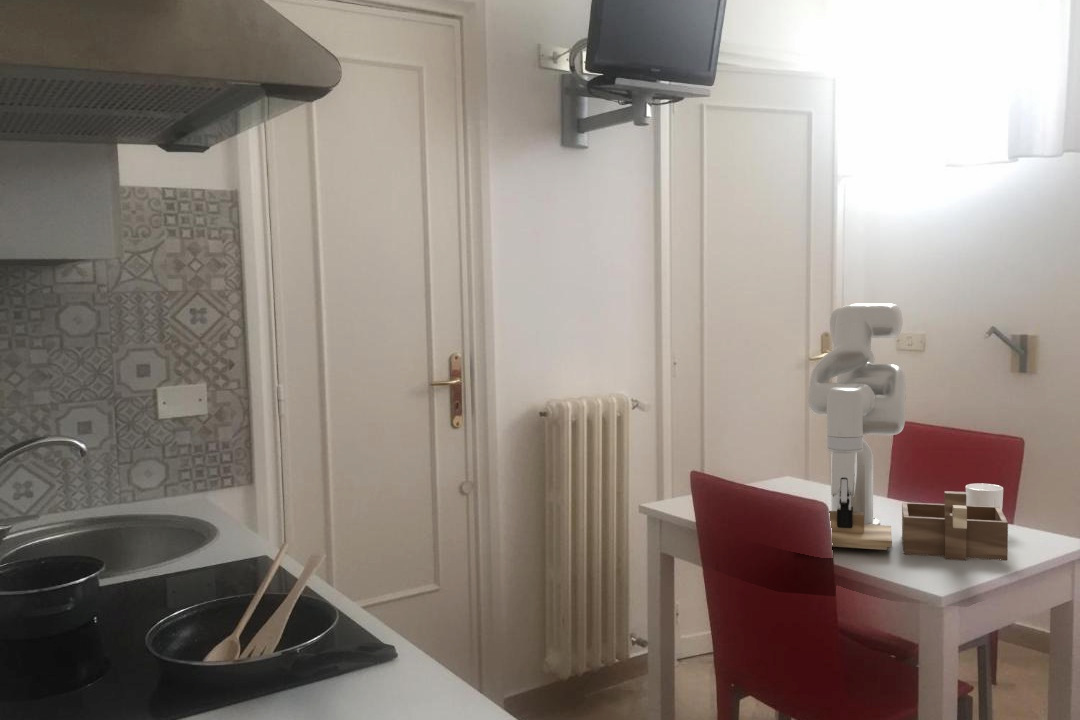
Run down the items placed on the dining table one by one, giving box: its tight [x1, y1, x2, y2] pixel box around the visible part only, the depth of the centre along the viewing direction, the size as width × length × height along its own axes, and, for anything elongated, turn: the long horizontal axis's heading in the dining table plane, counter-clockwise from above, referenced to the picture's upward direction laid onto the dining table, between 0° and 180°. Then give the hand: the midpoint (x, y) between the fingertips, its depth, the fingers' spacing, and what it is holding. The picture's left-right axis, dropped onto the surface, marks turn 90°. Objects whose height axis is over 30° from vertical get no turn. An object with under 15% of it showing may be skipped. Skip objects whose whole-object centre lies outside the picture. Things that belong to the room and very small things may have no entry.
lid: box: [828, 510, 893, 551], centre depth 205 cm, size 13×19×6 cm
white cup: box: [965, 482, 1004, 511], centre depth 216 cm, size 8×8×10 cm
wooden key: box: [952, 505, 967, 529], centre depth 186 cm, size 9×2×4 cm, turn 160°
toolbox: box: [901, 490, 1009, 562], centre depth 200 cm, size 16×20×14 cm
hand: (845, 525), depth 205 cm, fingers closed on lid, 2 cm apart
